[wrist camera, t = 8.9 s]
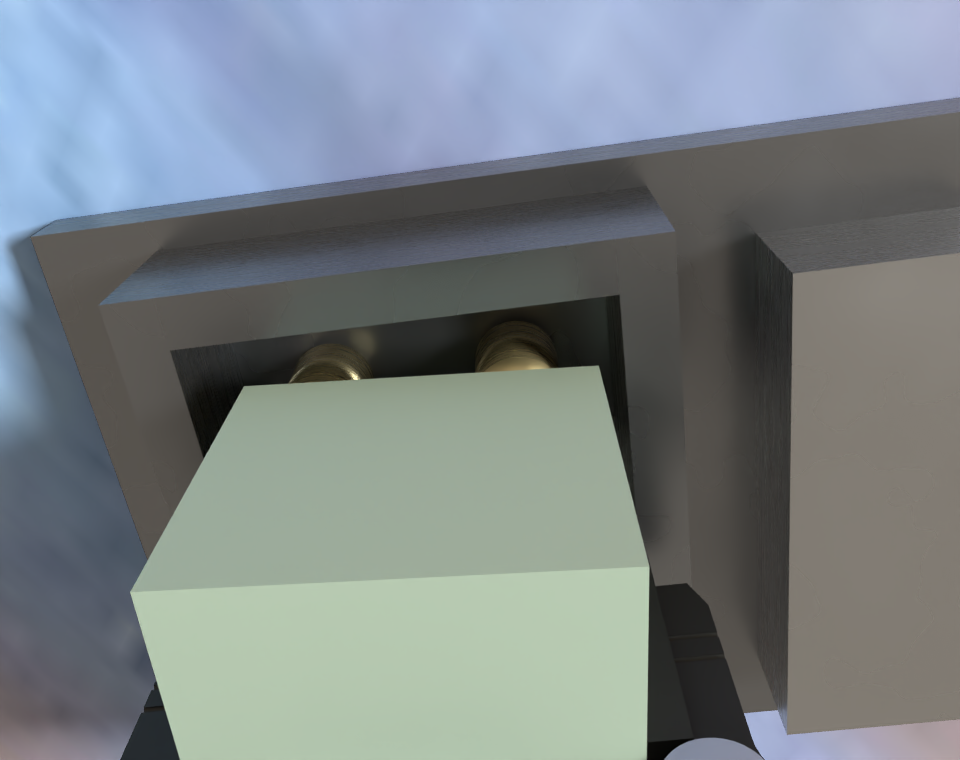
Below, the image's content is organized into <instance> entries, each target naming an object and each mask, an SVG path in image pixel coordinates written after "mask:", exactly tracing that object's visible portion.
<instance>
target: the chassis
mask: <svg viewBox="0 0 960 760" xmlns="http://www.w3.org/2000/svg"><path fill="white" fill-rule="evenodd" d="M31 240H32V243H33V246H34V248H35V251H36V254H37V257H38V260H39V262H40V265H41V268H42V271H43V273H44V276H45V279H46V282H47V284H48V287H49V290H50V293H51V295H52V298H53V301H54V304H55V306H56V309H57V312H58V315H59V317H60V320H61V323H62V326H63V328H64V331H65V334H66V337H67V339H68V342H69V345H70V348H71V350H72V353H73V356H74V359H75V362H76V364H77V367H78V370H79V373H80V375H81V378H82V381H83V384H84V386H85V389H86V392H87V395H88V397H89V400H90V403H91V406H92V408H93V411H94V414H95V417H96V419H97V422H98V425H99V428H100V430H101V433H102V436H103V439H104V441H105V444H106V447H107V450H108V452H109V455H110V458H111V461H112V464H113V466H114V469H115V472H116V475H117V477H118V480H119V483H120V486H121V488H122V491H123V494H124V497H125V499H126V502H127V505H128V508H129V510H130V513H131V516H132V519H133V521H134V524H135V527H136V530H137V532H138V535H139V538H140V541H141V543H142V546H143V549H144V552H145V554H146V557H147V560H148V559H149V557H150V555H151V553H152V552H153V550H154V548H155V546H156V544H157V543H158V541H159V539H160V537H161V535H162V534H163V532H164V530H165V528H166V526H167V525H168V523H169V521H170V519H171V517H172V516H173V514H174V512H175V510H176V508H177V507H178V505H179V503H180V501H181V499H182V498H183V496H184V494H185V492H186V490H187V488H188V487H189V485H190V483H191V481H192V479H193V478H194V476H195V474H196V472H197V470H198V469H199V467H200V465H201V463H202V461H203V460H204V458H205V456H206V454H207V452H208V451H209V449H210V447H211V445H212V443H213V442H214V440H215V438H216V436H217V434H218V432H219V431H220V429H221V427H222V425H223V423H224V422H225V420H226V418H227V416H228V414H229V413H230V411H231V409H232V407H233V405H234V404H235V402H236V400H237V398H238V396H239V395H240V393H241V391H242V389H243V387H244V386H258V385H275V384H292V383H309V382H326V381H343V380H361V379H378V378H395V377H412V376H429V375H446V374H463V373H480V372H497V371H514V370H532V369H549V368H566V367H583V366H599V369H600V373H601V377H602V381H603V385H604V388H605V392H606V396H607V400H608V404H609V408H610V412H611V416H612V420H613V424H614V428H615V432H616V436H617V440H618V444H619V448H620V452H621V456H622V460H623V464H624V468H625V472H626V476H627V480H628V484H629V488H630V492H631V496H632V500H633V504H634V508H635V512H636V516H637V520H638V524H639V527H640V531H641V535H642V539H643V543H644V547H645V551H646V553H647V555H648V558H649V562H650V566H651V570H652V574H653V578H654V582H655V586H662V585H672V584H682V583H687V584H688V585H689V586H690V587H691V588H692V589H693V590H694V591H695V592H696V593H697V594H698V595H699V596H700V597H701V598H702V599H703V600H704V601H705V602H706V603H707V604H708V605H709V608H710V611H711V614H712V617H713V620H714V623H715V626H716V630H717V635H718V637H719V639H720V642H721V645H722V648H723V651H724V656H725V659H726V660H727V663H728V666H729V669H730V673H731V676H732V679H733V682H734V685H735V688H736V691H737V694H738V697H739V700H740V703H741V706H742V709H743V713H750V712H761V711H772V710H778V712H779V714H780V717H781V720H782V722H783V725H784V728H785V730H786V733H787V735H789V734H800V733H811V732H822V731H834V730H845V729H856V728H867V727H878V726H889V725H901V724H912V723H923V722H934V721H945V720H956V719H960V98H954V99H946V100H939V101H931V102H924V103H917V104H909V105H902V106H894V107H887V108H880V109H872V110H865V111H858V112H850V113H843V114H835V115H828V116H821V117H813V118H806V119H798V120H791V121H784V122H776V123H769V124H762V125H754V126H747V127H739V128H732V129H725V130H717V131H710V132H702V133H695V134H688V135H680V136H673V137H666V138H658V139H651V140H643V141H636V142H629V143H621V144H614V145H606V146H599V147H592V148H584V149H577V150H570V151H562V152H555V153H547V154H540V155H533V156H525V157H518V158H511V159H503V160H496V161H488V162H481V163H474V164H466V165H459V166H451V167H444V168H437V169H429V170H422V171H415V172H407V173H400V174H392V175H385V176H378V177H370V178H363V179H355V180H348V181H341V182H333V183H326V184H319V185H311V186H304V187H296V188H289V189H282V190H274V191H267V192H259V193H252V194H245V195H237V196H230V197H223V198H215V199H208V200H200V201H193V202H186V203H178V204H171V205H163V206H156V207H149V208H141V209H134V210H127V211H119V212H112V213H104V214H97V215H90V216H82V217H75V218H67V219H60V220H56V221H54V222H53V223H51V224H50V225H48V226H46V227H45V228H43V229H42V230H40V231H39V232H37V233H36V234H34V235H32V236H31Z"/></svg>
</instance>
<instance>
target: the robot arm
mask: <svg viewBox="0 0 960 760" xmlns="http://www.w3.org/2000/svg"><path fill="white" fill-rule="evenodd" d="M646 555H647V553H646ZM647 559H648V563H649V627H648V700H647V760H765V759H764V758H763V757H762V756H761V755H760V753H759V752H758V750H757V748H756V747H755V745H754V742H753V740H752V737H751V734H750V731H749V728H748V725H747V722H746V719H745V716H744V713H743V709H742V706H741V703H740V700H739V697H738V694H737V691H736V688H735V685H734V682H733V679H732V676H731V673H730V669H729V666H728V663H727V660H726V659H725V656H724V651H723V648H722V645H721V642H720V639H719V637H718V635H717V630H716V626H715V623H714V620H713V617H712V614H711V611H710V608H709V605H708V604H707V603H706V602H705V601H704V600H703V599H702V598H701V597H700V596H699V595H698V594H697V593H696V592H695V591H694V590H693V589H692V588H691V587H690V586H689V585H688V584H687V583H682V584H672V585H662V586H655V582H654V578H653V574H652V570H651V566H650V562H649V558H648V555H647ZM120 760H180V758H179V754H178V751H177V748H176V744H175V741H174V738H173V734H172V731H171V728H170V724H169V721H168V718H167V714H166V711H165V708H164V704H163V701H162V698H161V694H160V691H159V687H158V684H157V681H156V682H155V684H154V690H152V691H151V693H150V695H149V697H148V699H147V702H146V704H145V706H144V713H141V715H140V717H139V719H138V722H137V724H136V726H135V728H134V730H133V733H132V735H131V737H130V739H129V742H128V744H127V746H126V748H125V750H124V753H123V755H122V757H121V759H120Z"/></svg>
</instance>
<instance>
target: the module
mask: <svg viewBox="0 0 960 760" xmlns="http://www.w3.org/2000/svg"><path fill="white" fill-rule="evenodd" d="M130 594H131V597H132V600H133V604H134V607H135V610H136V614H137V617H138V620H139V624H140V627H141V630H142V634H143V637H144V641H145V644H146V647H147V651H148V654H149V657H150V661H151V664H152V667H153V671H154V674H155V677H156V681H157V684H158V687H159V691H160V694H161V698H162V701H163V704H164V708H165V711H166V714H167V718H168V721H169V724H170V728H171V731H172V734H173V738H174V741H175V744H176V748H177V751H178V754H179V758H180V760H647V700H648V627H649V563H648V559H647V555H646V551H645V547H644V543H643V539H642V535H641V531H640V527H639V524H638V520H637V516H636V512H635V508H634V504H633V500H632V496H631V492H630V488H629V484H628V480H627V476H626V472H625V468H624V464H623V460H622V456H621V452H620V448H619V444H618V440H617V436H616V432H615V428H614V424H613V420H612V416H611V412H610V408H609V404H608V400H607V396H606V392H605V388H604V385H603V381H602V377H601V373H600V369H599V366H583V367H566V368H549V369H532V370H514V371H497V372H480V373H463V374H446V375H429V376H412V377H395V378H378V379H361V380H343V381H326V382H309V383H292V384H275V385H258V386H244V387H243V389H242V391H241V393H240V395H239V396H238V398H237V400H236V402H235V404H234V405H233V407H232V409H231V411H230V413H229V414H228V416H227V418H226V420H225V422H224V423H223V425H222V427H221V429H220V431H219V432H218V434H217V436H216V438H215V440H214V442H213V443H212V445H211V447H210V449H209V451H208V452H207V454H206V456H205V458H204V460H203V461H202V463H201V465H200V467H199V469H198V470H197V472H196V474H195V476H194V478H193V479H192V481H191V483H190V485H189V487H188V488H187V490H186V492H185V494H184V496H183V498H182V499H181V501H180V503H179V505H178V507H177V508H176V510H175V512H174V514H173V516H172V517H171V519H170V521H169V523H168V525H167V526H166V528H165V530H164V532H163V534H162V535H161V537H160V539H159V541H158V543H157V544H156V546H155V548H154V550H153V552H152V553H151V555H150V557H149V559H148V561H147V563H146V564H145V566H144V568H143V570H142V572H141V573H140V575H139V577H138V579H137V581H136V582H135V584H134V586H133V588H132V590H131V591H130Z"/></svg>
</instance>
